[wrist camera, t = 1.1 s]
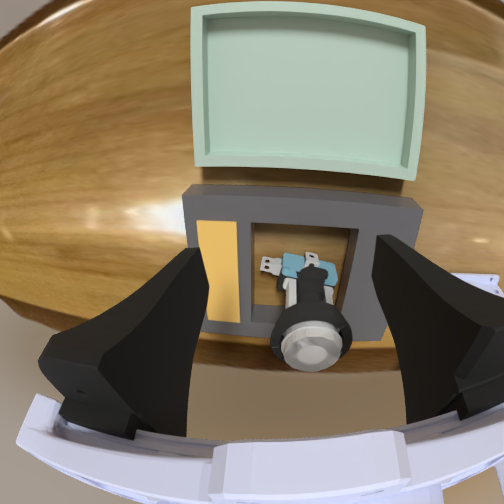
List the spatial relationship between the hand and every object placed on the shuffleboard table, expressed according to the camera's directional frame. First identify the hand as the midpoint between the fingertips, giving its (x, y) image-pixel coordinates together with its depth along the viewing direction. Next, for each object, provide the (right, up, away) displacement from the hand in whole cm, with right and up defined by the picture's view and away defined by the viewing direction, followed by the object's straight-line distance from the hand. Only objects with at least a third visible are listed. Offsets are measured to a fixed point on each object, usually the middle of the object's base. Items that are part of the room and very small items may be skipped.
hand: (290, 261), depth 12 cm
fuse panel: (+3, -1, +14) cm, 14 cm away
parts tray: (+3, +12, +6) cm, 14 cm away
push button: (+3, -1, +14) cm, 14 cm away
